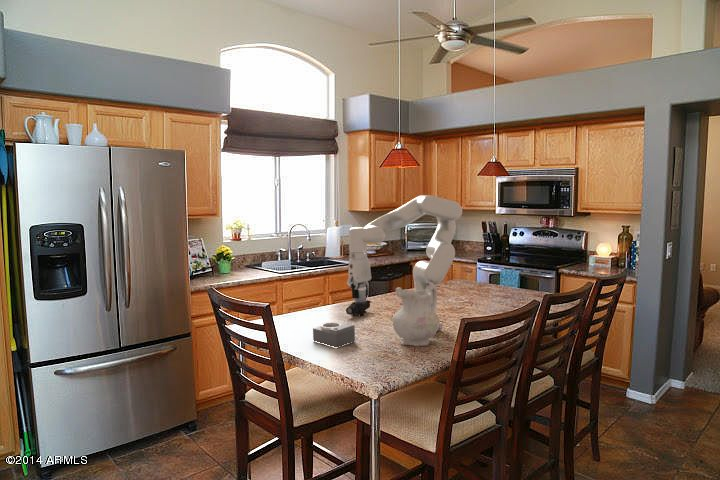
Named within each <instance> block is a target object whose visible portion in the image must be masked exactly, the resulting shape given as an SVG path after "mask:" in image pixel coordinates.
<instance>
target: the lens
mask: <svg viewBox="0 0 720 480" xmlns="http://www.w3.org/2000/svg"><path fill="white" fill-rule="evenodd" d="M354 286H355V283H354ZM357 289H358V297H359V298H358V299H356V298H353V299H354V301H353V302H355V303H356V302H365V301H367V296H366V283H365V282H361V283H358V286H357Z"/></svg>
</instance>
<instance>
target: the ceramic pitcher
mask: <svg viewBox="0 0 720 480" xmlns="http://www.w3.org/2000/svg"><path fill="white" fill-rule="evenodd" d="M431 291H432V293H431ZM395 294H396V296H397V297H398V298H400V299H401V308H400V309H399V310H398V311H396V312H395V313H394V314H393V316H392V326H393V329H394V331H395V334H397V336H398V337H399V338H401V339H402V340H401V341H400V342H401V343H400V342H399V345H405V346H406V345H408V346H413V347H423V346H428V345H429V344H430V342H431V341H430V340H429V339H431V338H433V337H434V336H435V335H436V333H437V332H438V331H439V330H438V328H439V324H440V317H439V316H438V314H437V312H436V313H435V312H434V308H435V305H436V306H437V304H436V303H437V300H438V289H437V286H436V285H434V284H433V282H431V281H430V282H428V283H427V288H426V289H425V290H417V291H415V290H409V289H407V288H405V289H403V288H402V287H398V286H397V287H396V288H395ZM431 297H432V302H431V305H430V306H429V303H430V300H431ZM437 330H438V331H437Z"/></svg>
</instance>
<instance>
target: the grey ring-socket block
mask: <svg viewBox="0 0 720 480" xmlns="http://www.w3.org/2000/svg"><path fill="white" fill-rule="evenodd" d="M355 328H356V327H355V324H352V323H345V324H342V323H340V322H337V321H336V322H333V321H331V322H330V321H329V322H324V323H322V324H321V325H320V326H317V327H313V328H312V341H313V340H314V341H317V342H320V343H324V344H327V345H330V346H334V347H339V346H342V345H344V344H347V343H351V342H354V341H355V342H356V338H355V337H356V331H355ZM355 342H354V343H355ZM351 344H352V343H351Z"/></svg>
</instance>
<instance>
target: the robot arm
mask: <svg viewBox="0 0 720 480" xmlns="http://www.w3.org/2000/svg"><path fill="white" fill-rule="evenodd" d="M462 214H463V208H462V206H461V204H460V203H459V202H458V201H454V200H451V199H446V198H442V197H439V196H434V195H430V194H422V195H421V194H420V195H419V196H418V195H417V196H416V197H415V198H413V199H411V200H410V201H408V202H407V203H405V204H403V205H401V206H400V207H398V208H396V209H394V210H392V211H389V212H388V213H386V214H384V215H382V216H379V217H378V218H376V219H375V220H373V221H371V222H369V223H368V224H366V225H365V226H364V227H361V226H354V227H350V228H349V229H348V247H349V248H348V249H349V255H348V258H349V261H348V271H347V272H348V278H347V280H346V284H347V286H348V287H349V288H350V290H351V295H352V296H351V297H352V298H353V299H354V298H356V299H358V298H359V297H358V289H357V286H358V283H361V282H365V283H366V297H368V296H369V286H370V283H371V280H372V278H373V276H372V272H371V271H372V270H371V263H370V260H369V257H368V249H367V248H368V247H367V244H380V243H382V242H383V241H384V240H385V238H386V233H388V232H390V231H393V230H396V229H402V228H404V227H407V226H408V225H410V224H412V223H413V222H415V221H417V220H418V219H420V218H421V217H423V216H425V215H429V216H433V217H435V218H436V221H437V226H436V229H435V230H434V234H433V235H432V237H431V239H430V241H429V243H428V245H427V247H426V250H425V253H426V256H427V257H428V258H429V259H430V260H424V259H423V260H419V261H417V262H416V263H415V265H414V266H413V269H412V277H413V282H414V283H413V284H414V291H417V290H425V289H426V288H427V283H428V282H430V281H431V282H433V284H434V285H435V286H437V285H439V284H440V283H442V282H443V280H444V279H445V276H446V275H447V274H448V271H449V270H450V268H451V266H452V263H453V262H454V260H455V256H456V250H455V247H454V245H453V244H452V242H453V238H454V236H455V235H456V229H457V227H456V221H457V220H459V219H460V218H461V216H462ZM354 283H355V286H354ZM431 293H432V291H431ZM431 302H432V297H431V300H430V303H429V306H430V305H431ZM434 312H435V313H436V314H437V304H436V305H435V308H434ZM442 329H443V323H439V328H438V330H437V332H439V330H442Z"/></svg>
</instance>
